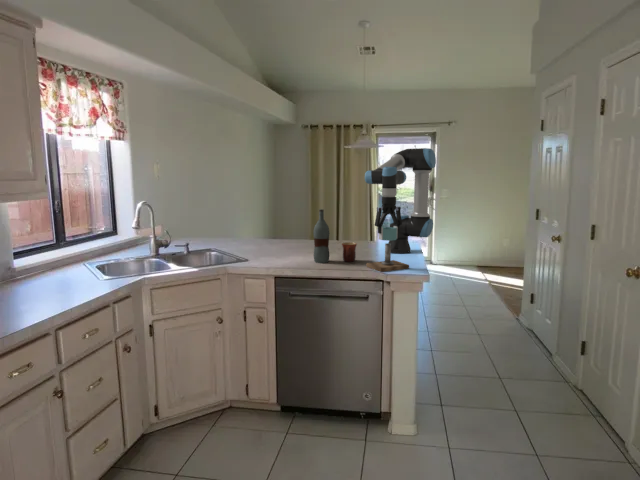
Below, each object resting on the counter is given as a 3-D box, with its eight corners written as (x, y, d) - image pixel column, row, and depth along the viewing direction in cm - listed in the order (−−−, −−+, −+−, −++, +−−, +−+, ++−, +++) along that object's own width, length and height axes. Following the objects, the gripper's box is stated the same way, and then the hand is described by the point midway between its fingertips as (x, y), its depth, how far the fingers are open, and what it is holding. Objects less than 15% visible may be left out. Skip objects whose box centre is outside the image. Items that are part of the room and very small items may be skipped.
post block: (393, 263, 255) (394, 240, 252) (409, 268, 242) (409, 244, 240) (366, 266, 247) (366, 243, 245) (380, 272, 234) (381, 247, 232)
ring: (390, 237, 248) (390, 226, 247) (399, 239, 240) (399, 228, 239) (377, 238, 244) (377, 227, 243) (385, 241, 236) (386, 229, 235)
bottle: (326, 263, 254) (326, 210, 250) (311, 262, 258) (310, 210, 253) (331, 260, 263) (331, 209, 258) (316, 259, 266) (316, 208, 261)
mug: (342, 259, 267) (342, 242, 265) (357, 259, 265) (357, 242, 263) (339, 263, 255) (339, 245, 254) (355, 264, 253) (355, 246, 252)
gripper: (401, 195, 246) (400, 236, 250) (368, 196, 237) (367, 239, 241) (409, 196, 240) (408, 238, 243) (375, 197, 230) (375, 241, 234)
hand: (388, 238), depth 242 cm, fingers closed on ring, 8 cm apart
